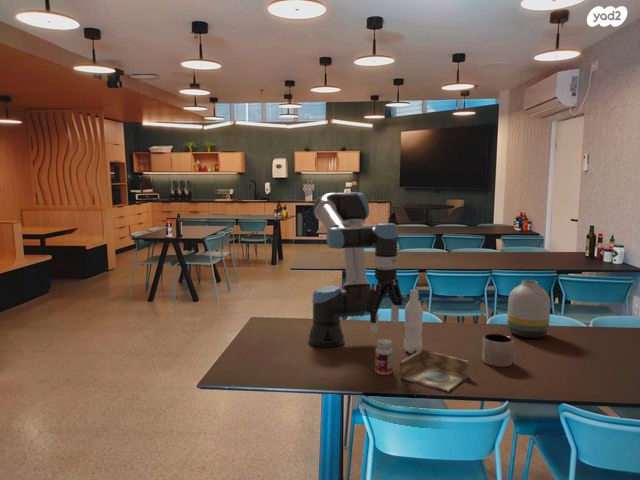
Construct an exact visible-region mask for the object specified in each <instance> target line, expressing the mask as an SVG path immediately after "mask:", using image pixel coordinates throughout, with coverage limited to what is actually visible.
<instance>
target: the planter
mask: <svg viewBox="0 0 640 480" xmlns="http://www.w3.org/2000/svg"><path fill="white" fill-rule="evenodd" d="M481 352H482V353H481V361H482V362H483V363H485V364H486V365H488V366H491V367H496V368H506V367H510V366H512V365H513V362H514V338H513V337H512V336H509V335H506V334H504V333H503V334H502V333H493V332H492V333H486V334H483V336H482V349H481Z"/></svg>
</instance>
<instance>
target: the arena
mask: <svg viewBox="0 0 640 480" xmlns="http://www.w3.org/2000/svg"><path fill="white" fill-rule="evenodd" d="M469 364H470V362H469V360H466V359H463V358H458V357H454V356H452V355H451V356H450V355H448V354H443V353H439V352H435V351H430V350H427V349H423V348H421V350H420V351H418V352H413V353H412V354H411V355H409V356H407V357H406V358H404V359H402V360H400V361H399V379H402V380H406V381H409V382H412V383H415V384H419V385H422V386H425V387H430V388H433V389H435V390H438V389H439V391H442V390H443V391H442V392H445V391H447V392H446V393H450V392H451V391H452V390H454V389H455V388H456V387H457V386H458V385H460V384H461V383H462V382H464V381H465V380H466V379H467V378H468V377H469V368H470V367H469V366H470V365H469ZM451 389H452V390H451ZM450 390H451V391H450ZM449 391H450V392H449Z"/></svg>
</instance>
